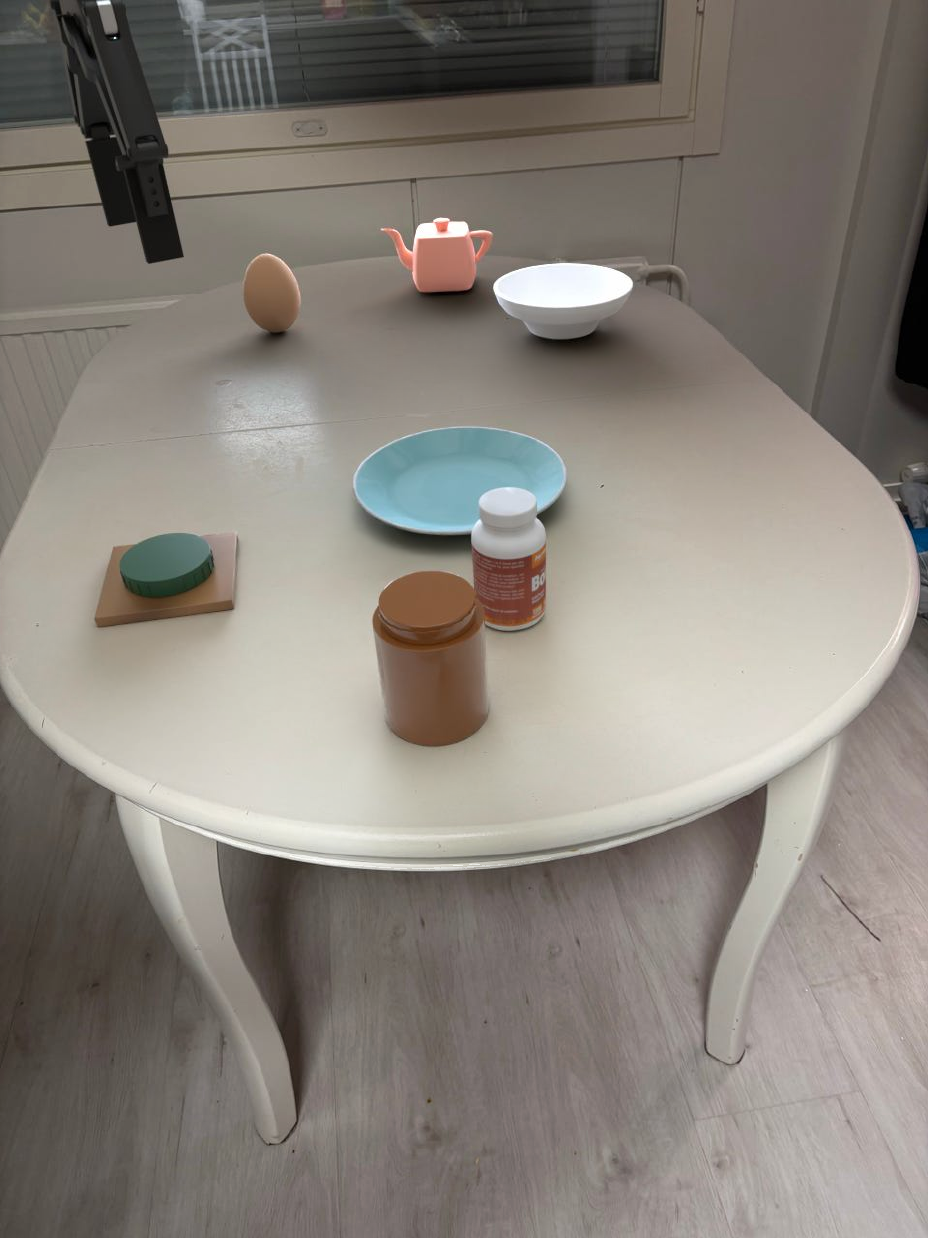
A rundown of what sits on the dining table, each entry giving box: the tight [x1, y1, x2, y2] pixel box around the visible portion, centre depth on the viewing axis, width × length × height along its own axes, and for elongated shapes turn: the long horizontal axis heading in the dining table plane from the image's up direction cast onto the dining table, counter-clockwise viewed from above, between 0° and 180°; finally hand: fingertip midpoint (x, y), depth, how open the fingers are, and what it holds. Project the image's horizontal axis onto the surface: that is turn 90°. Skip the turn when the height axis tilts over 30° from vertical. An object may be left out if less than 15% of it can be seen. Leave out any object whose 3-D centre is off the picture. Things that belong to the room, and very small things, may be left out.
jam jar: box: [371, 570, 490, 747], centre depth 68 cm, size 8×8×11 cm
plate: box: [352, 426, 568, 536], centre depth 96 cm, size 22×22×3 cm
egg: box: [242, 253, 301, 333], centre depth 137 cm, size 8×8×11 cm
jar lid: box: [119, 532, 214, 597], centre depth 86 cm, size 8×8×2 cm
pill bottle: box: [470, 487, 547, 632], centre depth 77 cm, size 6×6×11 cm
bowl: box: [493, 263, 634, 340], centre depth 132 cm, size 20×20×7 cm
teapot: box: [380, 217, 494, 293], centre depth 151 cm, size 12×18×10 cm, turn 90°
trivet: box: [94, 531, 239, 628], centre depth 87 cm, size 12×12×1 cm
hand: (143, 240), depth 75 cm, fingers open, 13 cm apart
